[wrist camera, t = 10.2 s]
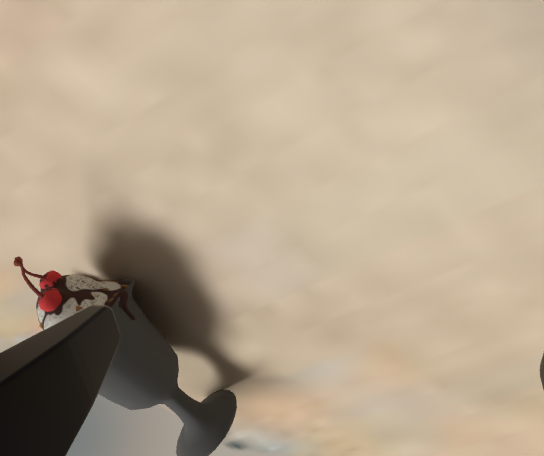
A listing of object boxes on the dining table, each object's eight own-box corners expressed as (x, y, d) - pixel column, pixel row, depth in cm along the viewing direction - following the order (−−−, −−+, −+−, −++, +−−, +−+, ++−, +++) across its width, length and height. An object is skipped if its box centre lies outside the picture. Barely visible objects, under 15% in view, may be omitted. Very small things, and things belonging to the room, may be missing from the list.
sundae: (235, 463, 22) (-1, 269, 18) (153, 492, 25) (-69, 331, 21) (257, 365, 28) (83, 198, 23) (188, 398, 31) (20, 255, 26)
